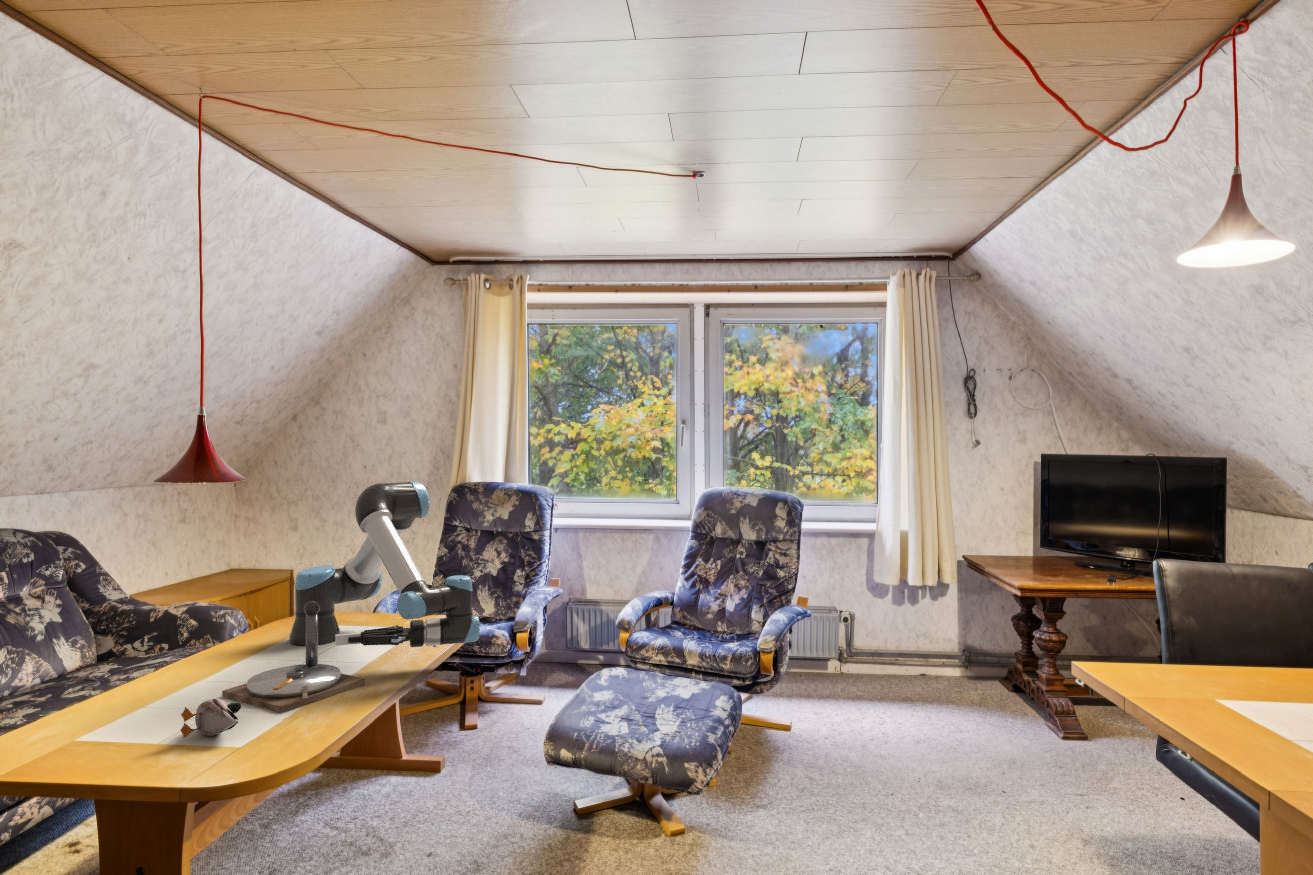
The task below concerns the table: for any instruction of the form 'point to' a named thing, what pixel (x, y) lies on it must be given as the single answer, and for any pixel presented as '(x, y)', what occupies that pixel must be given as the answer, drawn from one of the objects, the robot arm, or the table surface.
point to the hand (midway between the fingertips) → (335, 639)
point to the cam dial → (298, 668)
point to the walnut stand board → (292, 702)
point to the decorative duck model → (212, 717)
